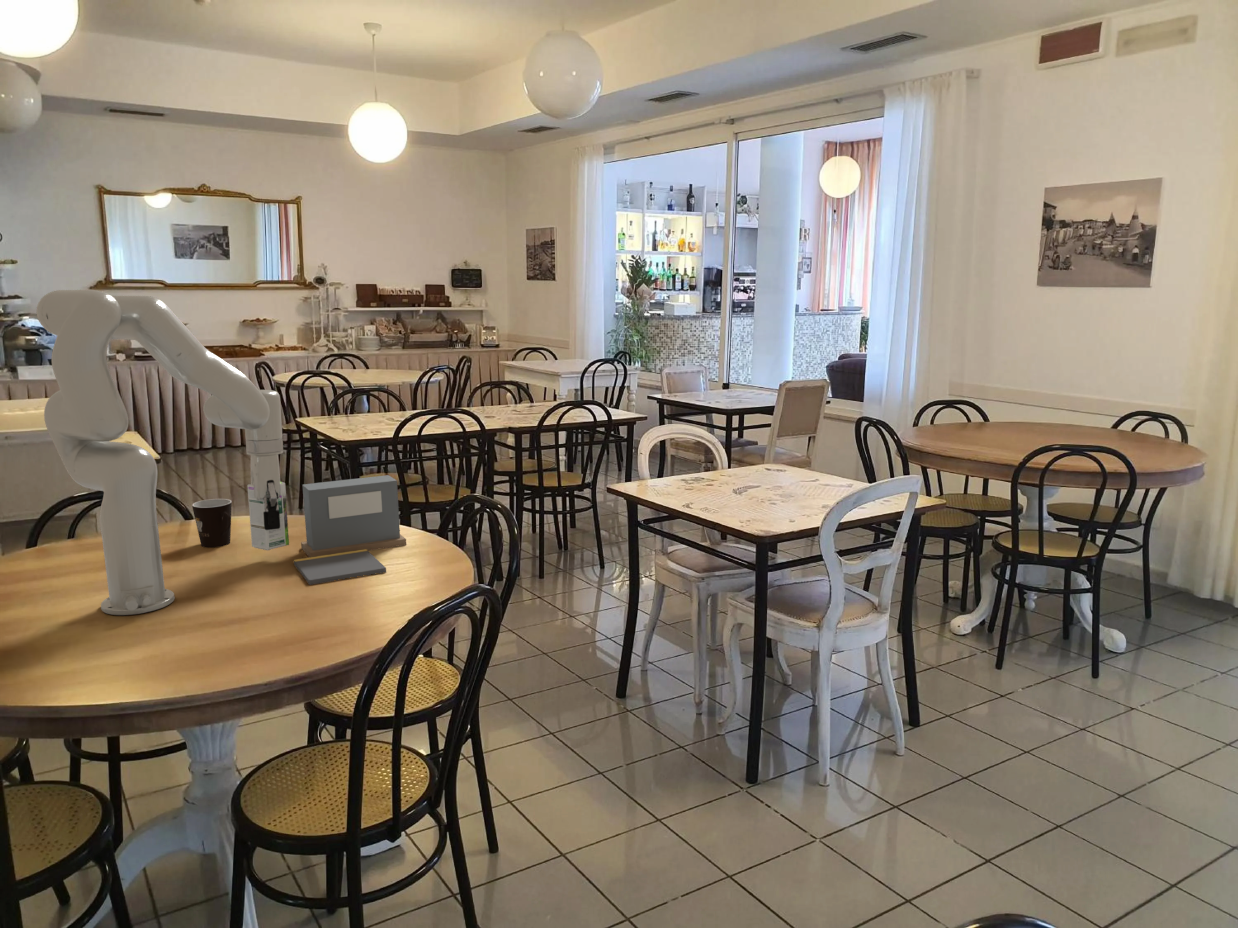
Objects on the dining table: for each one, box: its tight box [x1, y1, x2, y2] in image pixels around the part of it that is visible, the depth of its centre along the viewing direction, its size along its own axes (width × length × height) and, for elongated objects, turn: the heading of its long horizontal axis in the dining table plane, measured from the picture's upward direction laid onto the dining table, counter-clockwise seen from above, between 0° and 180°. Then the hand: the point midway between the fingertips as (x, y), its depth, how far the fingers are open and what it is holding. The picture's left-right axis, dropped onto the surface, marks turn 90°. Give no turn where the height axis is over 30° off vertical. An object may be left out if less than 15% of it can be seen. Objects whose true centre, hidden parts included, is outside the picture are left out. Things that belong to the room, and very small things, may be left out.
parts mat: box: [293, 549, 387, 586], centre depth 196 cm, size 16×16×1 cm
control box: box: [300, 474, 407, 558], centre depth 211 cm, size 10×22×16 cm, turn 120°
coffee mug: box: [192, 498, 233, 549], centre depth 213 cm, size 12×9×10 cm
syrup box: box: [247, 481, 290, 551], centre depth 200 cm, size 6×6×14 cm
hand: (269, 524), depth 201 cm, fingers closed on syrup box, 7 cm apart
